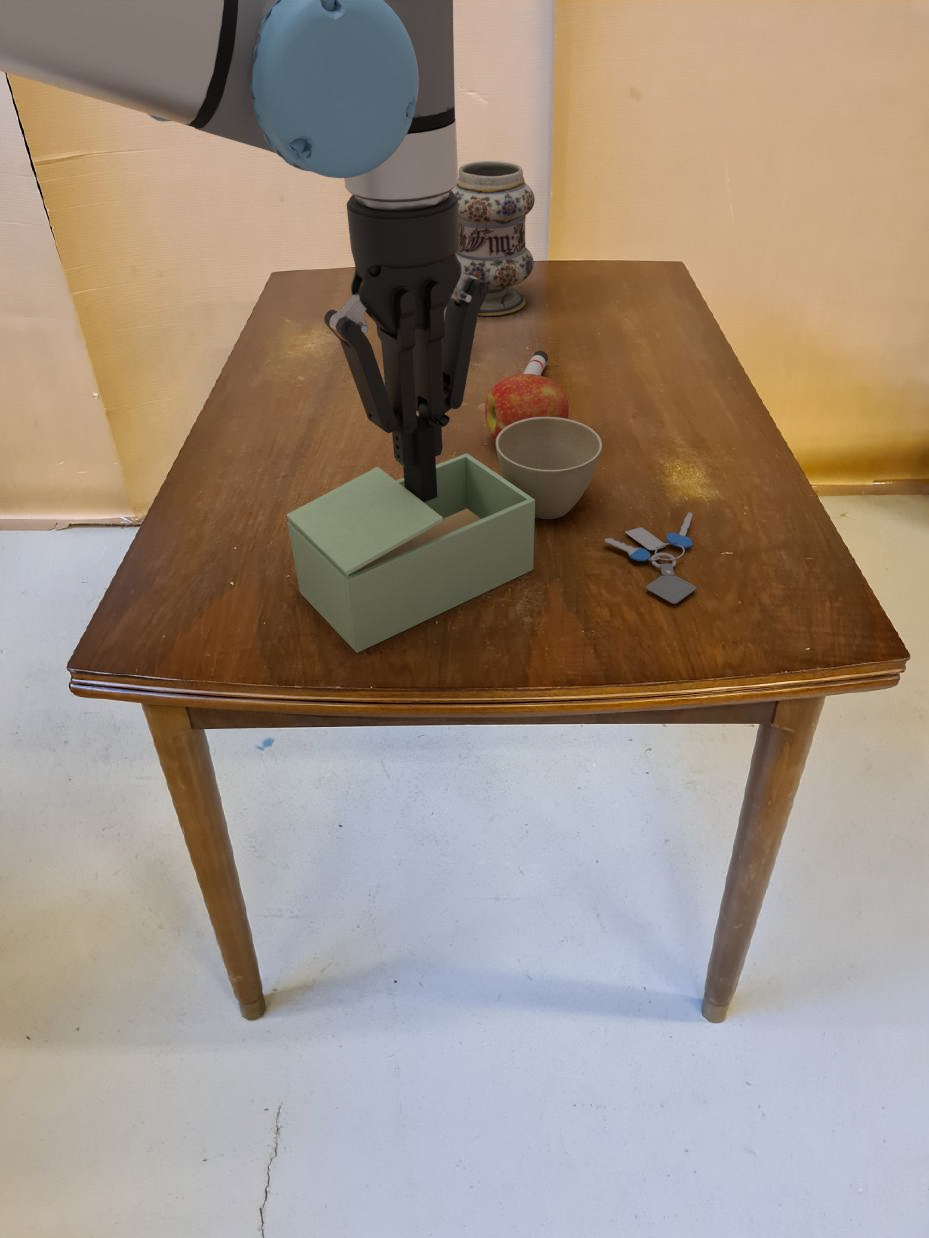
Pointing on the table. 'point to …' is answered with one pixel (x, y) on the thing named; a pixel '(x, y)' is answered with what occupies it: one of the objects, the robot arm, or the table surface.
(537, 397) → the apple
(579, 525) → the table surface
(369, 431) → the table surface
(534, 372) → the marker
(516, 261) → the apothecary jar
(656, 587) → the key chain
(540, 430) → the flower pot
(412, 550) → the carton
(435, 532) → the birch block
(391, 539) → the flap
